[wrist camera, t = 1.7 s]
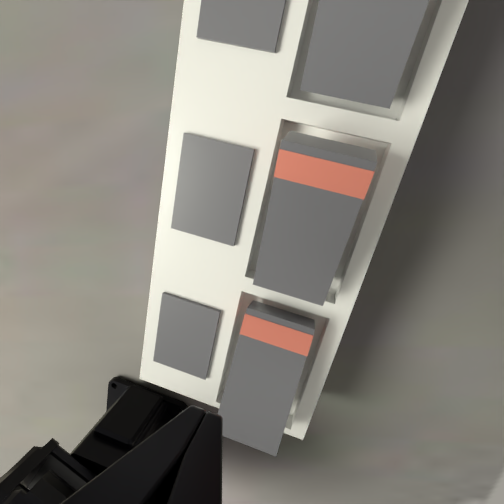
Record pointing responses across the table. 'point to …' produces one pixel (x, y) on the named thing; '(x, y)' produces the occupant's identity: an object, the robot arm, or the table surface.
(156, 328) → the power strip
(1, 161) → the table surface
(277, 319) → the rocker
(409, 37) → the rocker
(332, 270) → the rocker
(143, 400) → the robot arm
